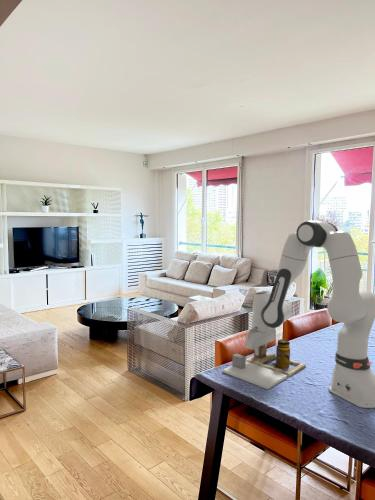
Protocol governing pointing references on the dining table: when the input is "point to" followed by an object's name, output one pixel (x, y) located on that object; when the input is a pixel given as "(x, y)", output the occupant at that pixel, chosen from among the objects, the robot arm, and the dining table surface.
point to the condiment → (282, 355)
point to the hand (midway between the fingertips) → (260, 353)
